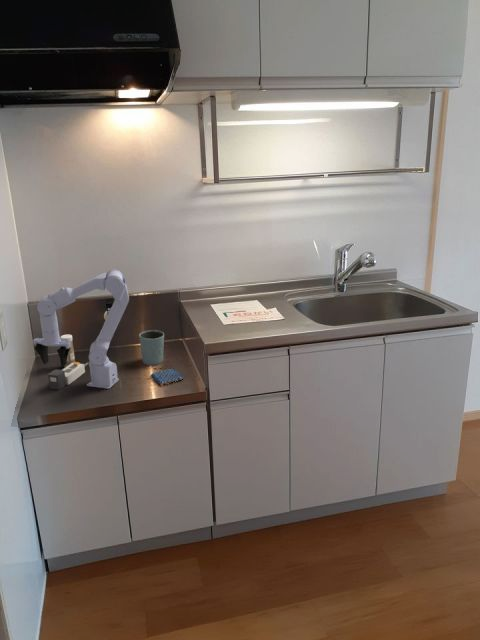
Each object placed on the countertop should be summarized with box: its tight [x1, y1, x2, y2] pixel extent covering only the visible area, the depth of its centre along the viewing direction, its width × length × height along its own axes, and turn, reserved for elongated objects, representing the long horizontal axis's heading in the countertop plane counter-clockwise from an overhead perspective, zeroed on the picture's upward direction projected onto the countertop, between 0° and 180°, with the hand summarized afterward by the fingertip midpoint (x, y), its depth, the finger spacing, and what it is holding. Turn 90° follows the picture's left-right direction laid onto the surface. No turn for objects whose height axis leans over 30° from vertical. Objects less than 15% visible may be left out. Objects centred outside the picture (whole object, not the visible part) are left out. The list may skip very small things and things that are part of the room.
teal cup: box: [138, 329, 165, 366], centre depth 214 cm, size 10×10×12 cm
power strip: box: [62, 361, 89, 386], centre depth 204 cm, size 6×19×4 cm, turn 165°
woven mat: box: [150, 368, 186, 387], centre depth 200 cm, size 10×11×2 cm
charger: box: [47, 369, 67, 390], centre depth 194 cm, size 4×6×6 cm, turn 165°
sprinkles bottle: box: [60, 334, 76, 368], centre depth 209 cm, size 5×5×13 cm
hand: (55, 363), depth 191 cm, fingers open, 7 cm apart
